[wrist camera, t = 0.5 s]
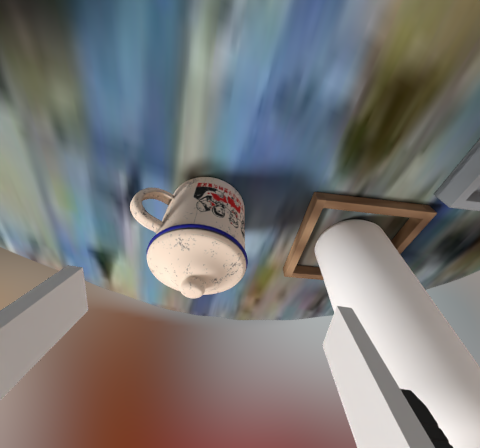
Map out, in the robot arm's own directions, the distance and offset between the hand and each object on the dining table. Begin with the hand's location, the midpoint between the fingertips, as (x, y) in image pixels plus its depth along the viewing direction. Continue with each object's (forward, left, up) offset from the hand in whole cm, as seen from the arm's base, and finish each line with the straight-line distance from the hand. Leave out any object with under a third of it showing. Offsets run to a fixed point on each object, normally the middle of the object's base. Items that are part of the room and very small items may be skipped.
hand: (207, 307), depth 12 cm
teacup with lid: (+4, -3, -16) cm, 17 cm away
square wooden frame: (+8, +17, -16) cm, 25 cm away
